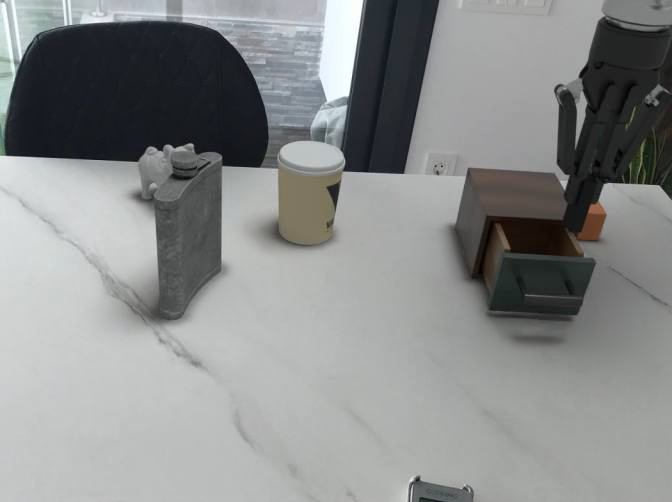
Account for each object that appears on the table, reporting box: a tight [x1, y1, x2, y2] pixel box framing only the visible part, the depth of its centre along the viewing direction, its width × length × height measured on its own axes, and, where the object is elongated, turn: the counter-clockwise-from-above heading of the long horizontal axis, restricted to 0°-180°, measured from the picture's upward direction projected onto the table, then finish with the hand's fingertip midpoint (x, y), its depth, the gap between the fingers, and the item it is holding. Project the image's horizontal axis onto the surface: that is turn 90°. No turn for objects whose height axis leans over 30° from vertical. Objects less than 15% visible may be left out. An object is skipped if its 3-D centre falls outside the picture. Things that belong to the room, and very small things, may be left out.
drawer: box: [480, 221, 597, 317], centre depth 99 cm, size 18×11×8 cm, turn 179°
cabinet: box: [454, 167, 579, 280], centre depth 109 cm, size 15×13×10 cm
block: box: [577, 201, 608, 241], centre depth 117 cm, size 4×4×4 cm
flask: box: [153, 151, 223, 321], centre depth 94 cm, size 4×14×18 cm, turn 160°
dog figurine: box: [137, 143, 196, 201], centre depth 114 cm, size 5×13×11 cm, turn 44°
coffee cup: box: [276, 140, 346, 246], centre depth 109 cm, size 9×9×12 cm
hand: (571, 226), depth 95 cm, fingers closed
